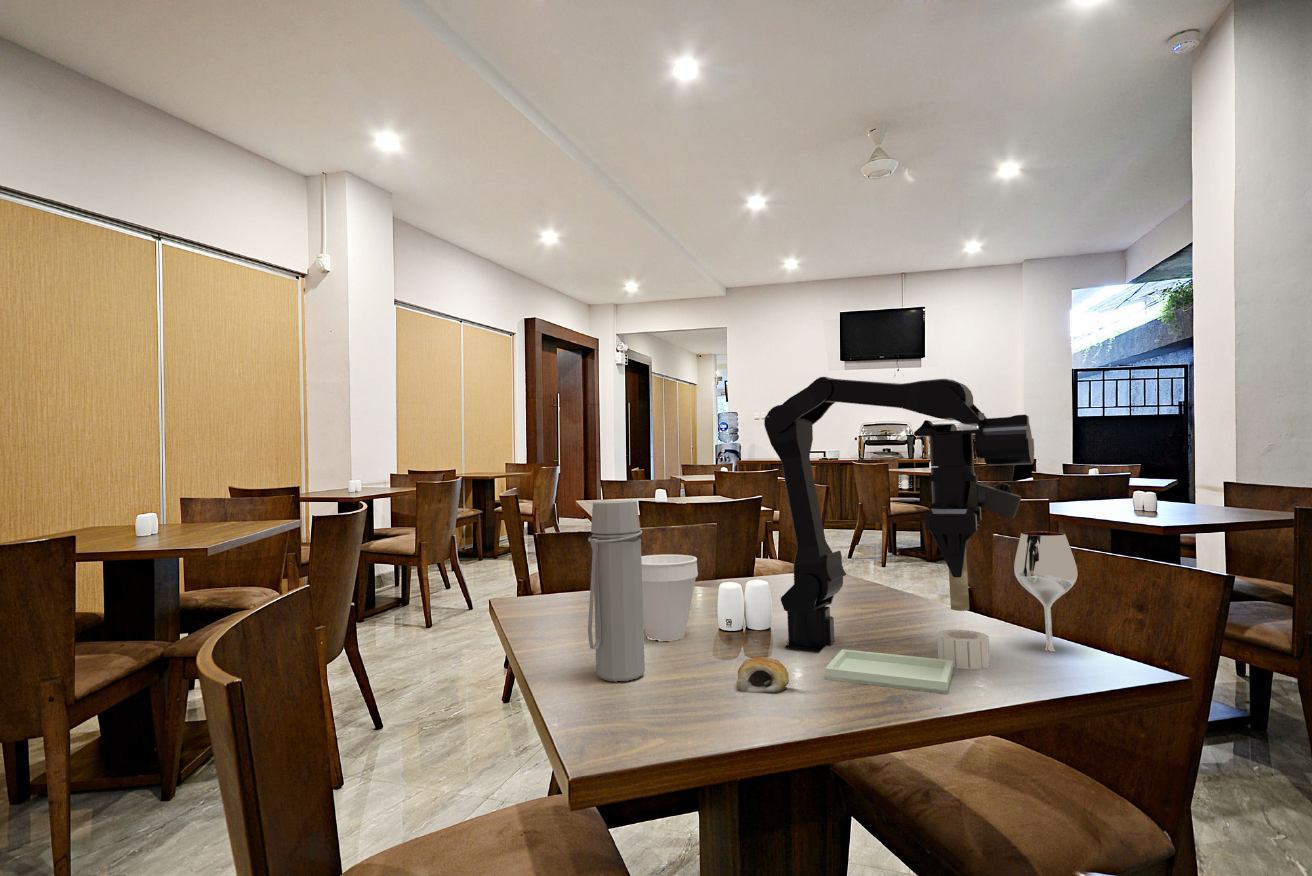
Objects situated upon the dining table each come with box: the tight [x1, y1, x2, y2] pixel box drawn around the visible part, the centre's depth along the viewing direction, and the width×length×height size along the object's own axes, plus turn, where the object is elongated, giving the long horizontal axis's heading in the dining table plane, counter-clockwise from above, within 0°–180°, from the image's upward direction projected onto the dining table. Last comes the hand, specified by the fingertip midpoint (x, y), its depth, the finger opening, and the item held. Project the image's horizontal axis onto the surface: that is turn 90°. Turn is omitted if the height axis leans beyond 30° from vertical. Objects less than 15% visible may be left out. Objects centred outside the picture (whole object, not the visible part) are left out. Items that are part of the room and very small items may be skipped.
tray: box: [824, 648, 955, 695], centre depth 89 cm, size 15×10×2 cm, turn 62°
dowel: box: [948, 550, 970, 612], centre depth 94 cm, size 2×2×11 cm
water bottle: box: [587, 500, 646, 683], centre depth 95 cm, size 9×8×25 cm
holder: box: [936, 629, 991, 670], centre depth 94 cm, size 7×7×4 cm
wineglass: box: [1013, 531, 1079, 652], centre depth 98 cm, size 8×8×18 cm
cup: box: [641, 554, 699, 640], centre depth 117 cm, size 12×12×14 cm
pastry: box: [736, 656, 790, 693], centre depth 90 cm, size 9×7×4 cm
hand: (957, 575), depth 94 cm, fingers closed on dowel, 2 cm apart
